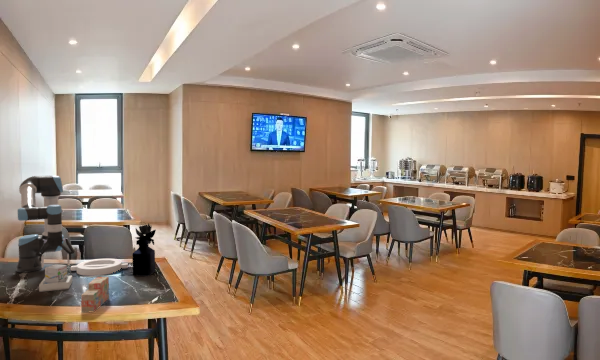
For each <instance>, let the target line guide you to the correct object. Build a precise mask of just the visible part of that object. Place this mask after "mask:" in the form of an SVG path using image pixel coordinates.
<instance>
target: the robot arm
mask: <svg viewBox="0 0 600 360" xmlns="http://www.w3.org/2000/svg"><path fill="white" fill-rule="evenodd" d="M62 182H63V181H62V178H61V176H59V175H34V176H33V175H32V176H30V177H28V178H26V179H24V180H23V181H22V182H21V184H20V186H19V190H18V191H19V193H20V197H21V201H20V202H21V203H20V204H21V207H19V208H17V220H18V221H23V222H25V221H37V220H43V221H44V225H43V226H44V231H43V232H42V233H41V235H39V234H37V233H36V234H28V235H24V236H22V237H20V238H18V244H17V245H18V260H17V264H16V267H15V272H17V273H29V272H30V273H32V272H36V271H40V270H42V269H43V268H45V256H44V254H45V253H55V252H61V251H62V250H63V251H65V252H66V253H67V256H66V258H67V267H68V266H70V265H71V264H70V263H71V262H70V260H72V254H75V253H76V251H75V249H74V248H73V245H72V244H71V243H70V241H69V237H66V238H65V236H64V234H63V231H62V230H63V222H62V221H63V219H62V218H63V213H62V212H63V209H62V205H61V204H59V197H60V196H61V194H62V193H63V192H64V188H63V183H62ZM36 194H40V196H41V197H42V199H43V206H38V207H37V202H36V199H37V198H36ZM64 243H66V245H67V246H66V245H64ZM67 247H68V248H67Z"/></svg>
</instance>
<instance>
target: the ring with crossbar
mask: <svg viewBox="0 0 600 360" xmlns="http://www.w3.org/2000/svg"><path fill="white" fill-rule="evenodd" d="M122 262H123V261H122V260H121V259H119V258H118V259H117V258H95V259H89V260H85V261H82V262H79V263H77V264H76V265H71V266H70V271H76V275H80V276H88V277H89V276H91V277H92V276H96V277H97V276H103V275H105V276H106V275H110V274H113V272H114V273H116V271H117V272H119V271H121V270H122V269H127V268H129V263H128V262H126V263H122ZM121 268H122V269H121ZM120 269H121V270H120ZM118 270H119V271H118Z"/></svg>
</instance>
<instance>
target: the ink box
mask: <svg viewBox="0 0 600 360" xmlns="http://www.w3.org/2000/svg"><path fill="white" fill-rule="evenodd" d="M67 276H68V264H59V263H57V264H56V263H55V264H52V265H49V266H45V267H44V278H45V284H48V283H59V282H66V281H67Z"/></svg>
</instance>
